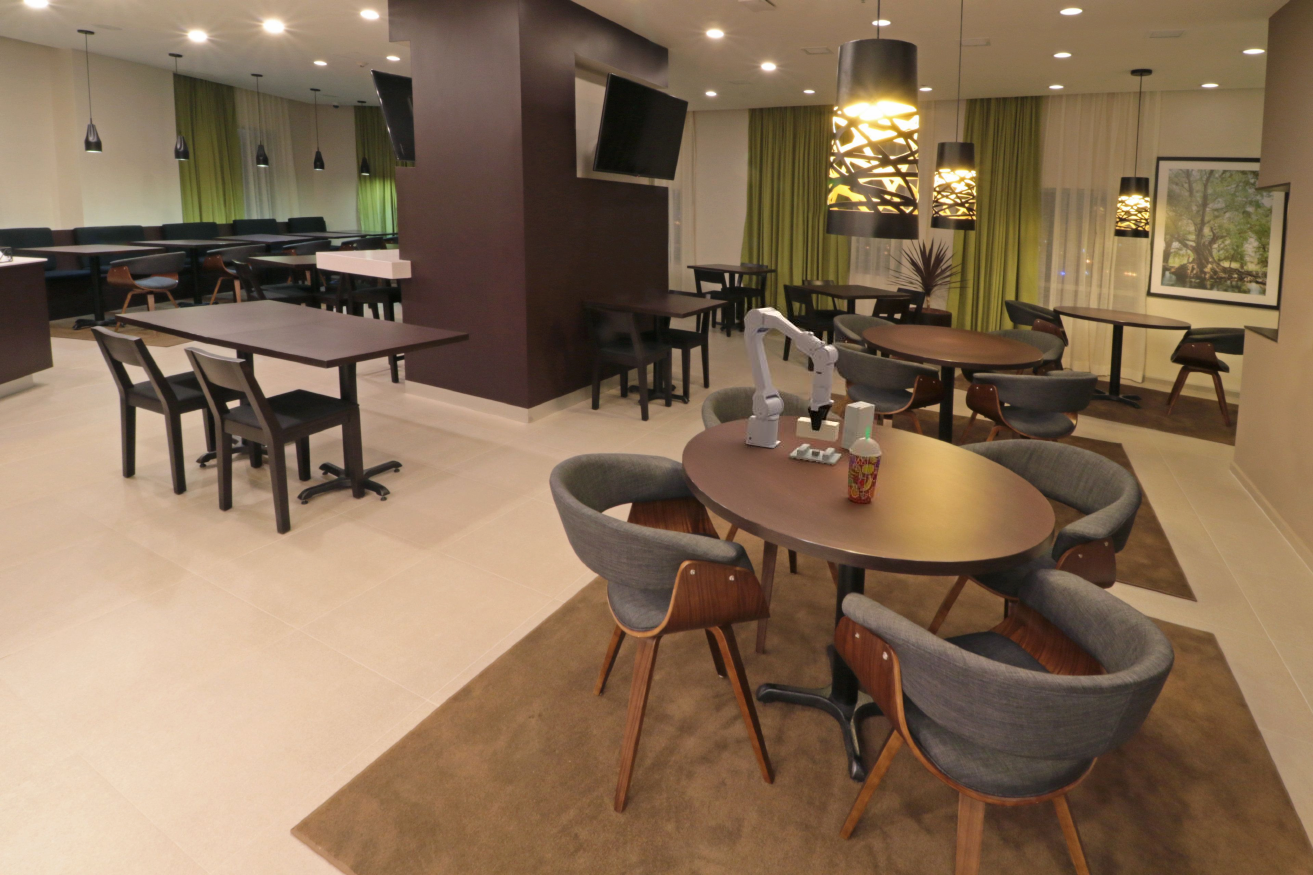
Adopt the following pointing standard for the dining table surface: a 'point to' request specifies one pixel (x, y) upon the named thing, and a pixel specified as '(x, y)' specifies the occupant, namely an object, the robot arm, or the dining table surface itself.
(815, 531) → the dining table surface
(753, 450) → the dining table surface
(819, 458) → the display stand
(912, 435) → the dining table surface
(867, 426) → the skincare box
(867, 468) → the smoothie
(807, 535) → the dining table surface
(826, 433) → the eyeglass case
